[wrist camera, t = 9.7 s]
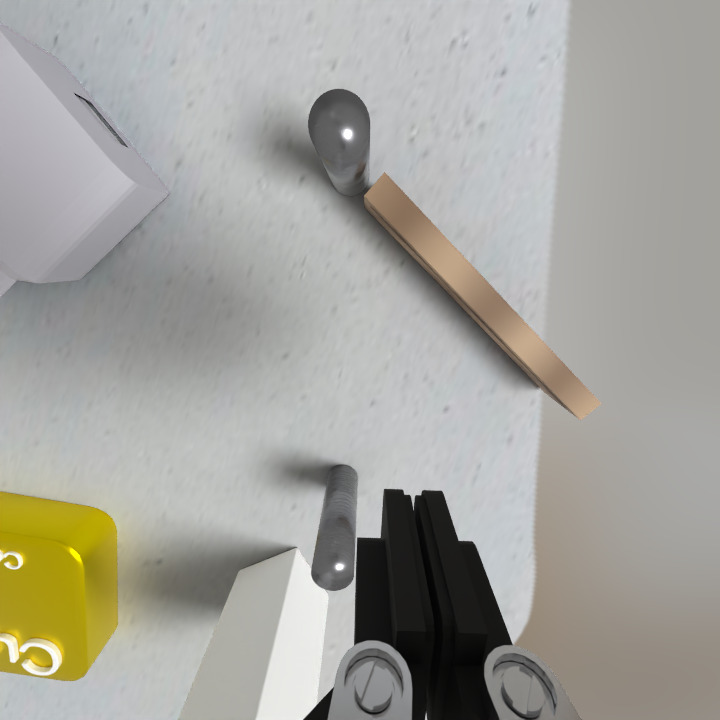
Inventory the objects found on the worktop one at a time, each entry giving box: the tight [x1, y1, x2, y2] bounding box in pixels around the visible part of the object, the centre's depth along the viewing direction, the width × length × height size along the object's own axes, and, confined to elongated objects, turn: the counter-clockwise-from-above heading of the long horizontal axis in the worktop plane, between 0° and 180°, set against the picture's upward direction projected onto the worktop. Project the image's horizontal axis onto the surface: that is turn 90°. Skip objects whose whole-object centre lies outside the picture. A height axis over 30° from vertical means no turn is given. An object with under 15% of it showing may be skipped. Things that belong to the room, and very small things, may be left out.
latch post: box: [311, 465, 358, 591], centre depth 24 cm, size 2×2×9 cm
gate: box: [364, 172, 601, 420], centre depth 22 cm, size 18×2×4 cm, turn 46°
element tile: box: [0, 492, 118, 681], centre depth 30 cm, size 15×15×5 cm
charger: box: [0, 22, 170, 297], centre depth 21 cm, size 5×9×15 cm
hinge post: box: [308, 89, 370, 196], centre depth 18 cm, size 2×2×9 cm
